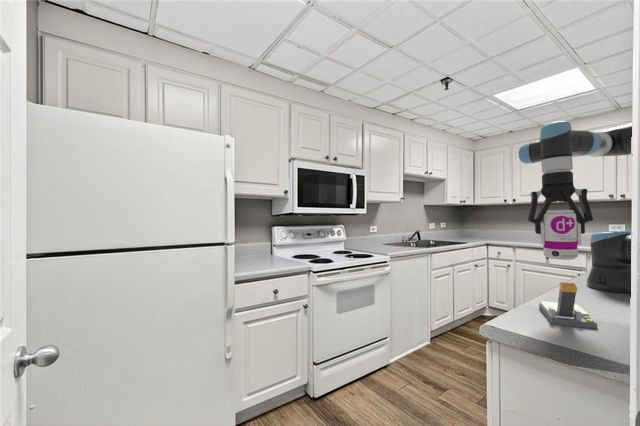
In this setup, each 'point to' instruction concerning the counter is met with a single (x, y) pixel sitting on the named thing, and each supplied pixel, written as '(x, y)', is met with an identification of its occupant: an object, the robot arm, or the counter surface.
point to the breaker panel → (579, 320)
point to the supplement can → (560, 234)
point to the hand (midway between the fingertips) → (559, 244)
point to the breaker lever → (566, 300)
